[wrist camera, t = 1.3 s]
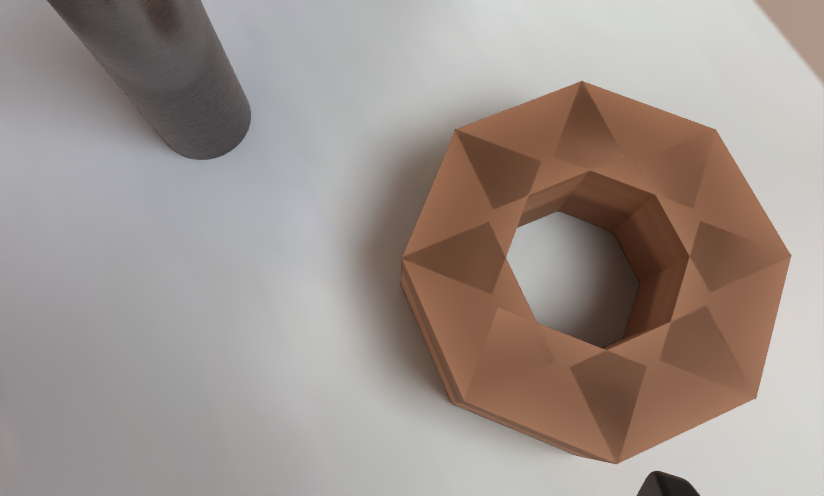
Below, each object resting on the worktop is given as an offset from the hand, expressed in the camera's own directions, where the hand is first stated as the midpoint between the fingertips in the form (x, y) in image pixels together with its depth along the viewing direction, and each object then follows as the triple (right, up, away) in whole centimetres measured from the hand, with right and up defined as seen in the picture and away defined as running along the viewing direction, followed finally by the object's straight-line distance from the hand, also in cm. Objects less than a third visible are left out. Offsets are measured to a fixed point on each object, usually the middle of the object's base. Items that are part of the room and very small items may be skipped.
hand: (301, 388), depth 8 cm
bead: (+7, 0, +15) cm, 16 cm away
